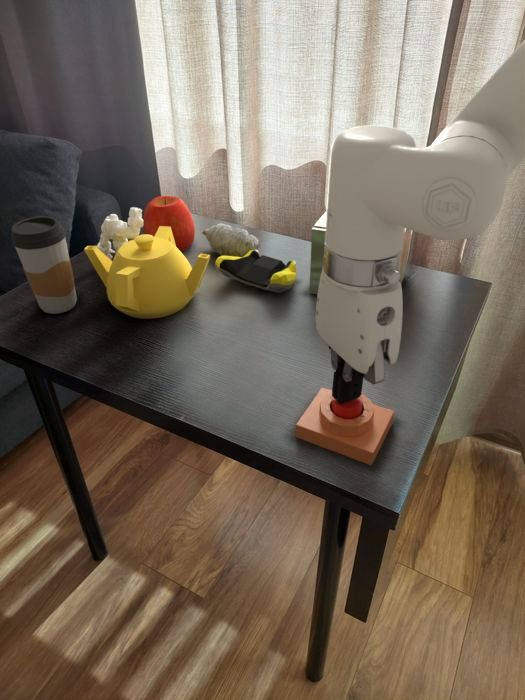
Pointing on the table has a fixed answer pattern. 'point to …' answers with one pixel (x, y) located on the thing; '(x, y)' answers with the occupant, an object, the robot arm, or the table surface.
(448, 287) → the table surface
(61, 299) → the coffee cup
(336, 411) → the button
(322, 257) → the door
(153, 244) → the teapot
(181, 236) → the apple
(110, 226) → the figurine
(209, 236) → the seashell
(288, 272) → the black and yellow shoe
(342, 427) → the button block
